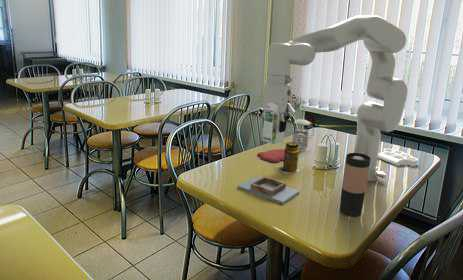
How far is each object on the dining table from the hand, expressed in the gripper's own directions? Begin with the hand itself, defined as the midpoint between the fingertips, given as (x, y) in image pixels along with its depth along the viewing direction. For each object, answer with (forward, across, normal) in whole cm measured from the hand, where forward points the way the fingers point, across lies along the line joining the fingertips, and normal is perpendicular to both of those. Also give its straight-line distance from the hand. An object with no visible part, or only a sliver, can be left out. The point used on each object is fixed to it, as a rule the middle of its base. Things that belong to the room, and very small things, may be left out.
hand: (273, 129), depth 132 cm
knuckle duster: (+24, -27, -71) cm, 80 cm away
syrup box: (+5, 0, 0) cm, 5 cm away
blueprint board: (+24, 0, +1) cm, 24 cm away
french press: (+24, +15, -54) cm, 61 cm away
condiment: (+24, +5, -23) cm, 34 cm away
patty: (+25, +18, -34) cm, 46 cm away
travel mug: (+24, -30, -4) cm, 39 cm away
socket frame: (+24, 0, +1) cm, 24 cm away
